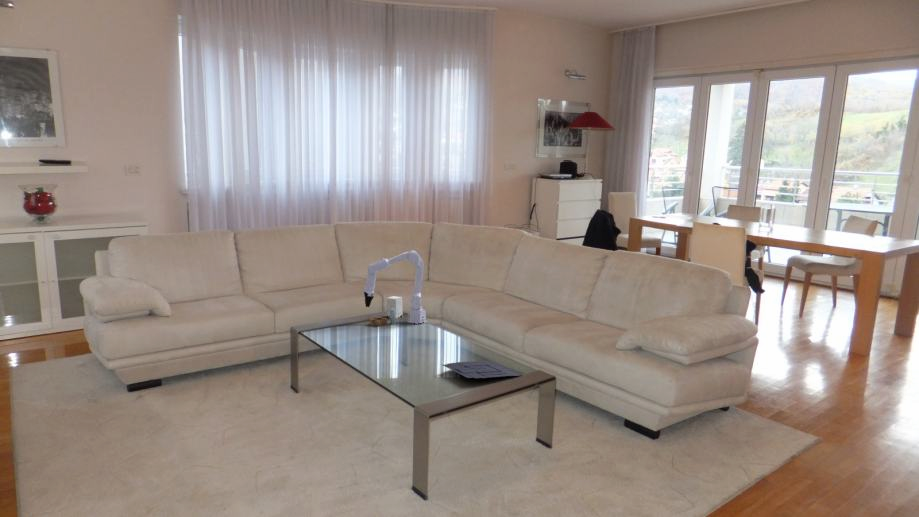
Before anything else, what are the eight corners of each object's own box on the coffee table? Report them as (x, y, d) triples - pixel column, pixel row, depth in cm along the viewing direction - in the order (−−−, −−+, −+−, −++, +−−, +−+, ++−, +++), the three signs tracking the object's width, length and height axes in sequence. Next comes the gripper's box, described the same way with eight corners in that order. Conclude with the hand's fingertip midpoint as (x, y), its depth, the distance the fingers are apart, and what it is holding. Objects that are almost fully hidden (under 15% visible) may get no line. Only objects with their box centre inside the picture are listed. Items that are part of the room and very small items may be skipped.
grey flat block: (438, 369, 268) (439, 361, 268) (489, 366, 285) (490, 359, 285) (469, 385, 248) (470, 377, 248) (521, 381, 266) (523, 373, 266)
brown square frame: (387, 324, 351) (387, 318, 351) (378, 326, 345) (378, 320, 345) (378, 322, 356) (378, 316, 355) (369, 324, 349) (369, 318, 349)
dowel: (396, 323, 354) (396, 309, 352) (392, 324, 351) (392, 309, 350) (392, 322, 355) (392, 308, 354) (388, 323, 353) (388, 309, 352)
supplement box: (402, 316, 372) (403, 297, 370) (395, 318, 366) (395, 299, 364) (393, 314, 376) (393, 295, 374) (386, 317, 369) (386, 297, 368)
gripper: (363, 280, 358) (360, 301, 359) (364, 284, 344) (360, 307, 345) (374, 281, 359) (371, 303, 361) (376, 286, 345) (372, 308, 347)
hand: (367, 305), depth 353 cm, fingers open, 7 cm apart
